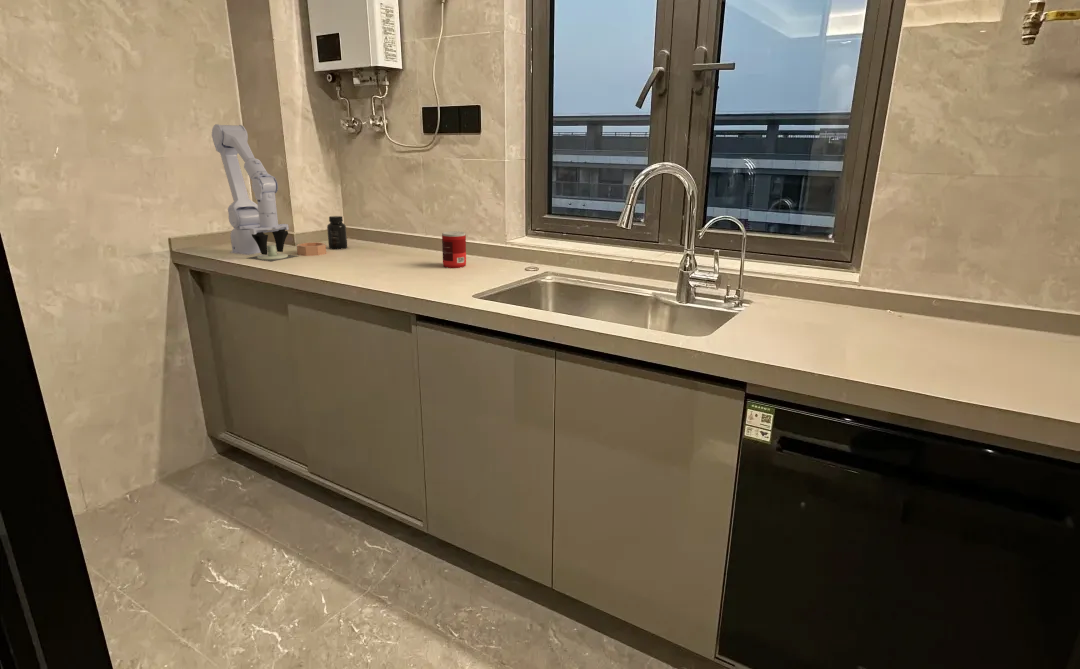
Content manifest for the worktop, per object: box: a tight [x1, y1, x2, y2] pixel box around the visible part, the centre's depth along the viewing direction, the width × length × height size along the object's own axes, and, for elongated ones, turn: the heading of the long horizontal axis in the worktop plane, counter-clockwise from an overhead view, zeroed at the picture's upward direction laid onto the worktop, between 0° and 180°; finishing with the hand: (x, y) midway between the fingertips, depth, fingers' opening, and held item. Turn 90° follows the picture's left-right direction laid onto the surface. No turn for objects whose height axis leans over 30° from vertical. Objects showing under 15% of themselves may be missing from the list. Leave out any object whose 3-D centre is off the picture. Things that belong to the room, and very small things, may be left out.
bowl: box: [296, 241, 327, 257], centre depth 223 cm, size 10×10×4 cm
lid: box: [256, 244, 289, 261], centre depth 214 cm, size 10×10×4 cm
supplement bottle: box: [326, 215, 348, 250], centre depth 235 cm, size 7×7×12 cm
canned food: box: [441, 231, 467, 269], centre depth 205 cm, size 8×8×11 cm
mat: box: [246, 254, 300, 262], centre depth 214 cm, size 12×12×1 cm
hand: (272, 253), depth 214 cm, fingers open, 6 cm apart
